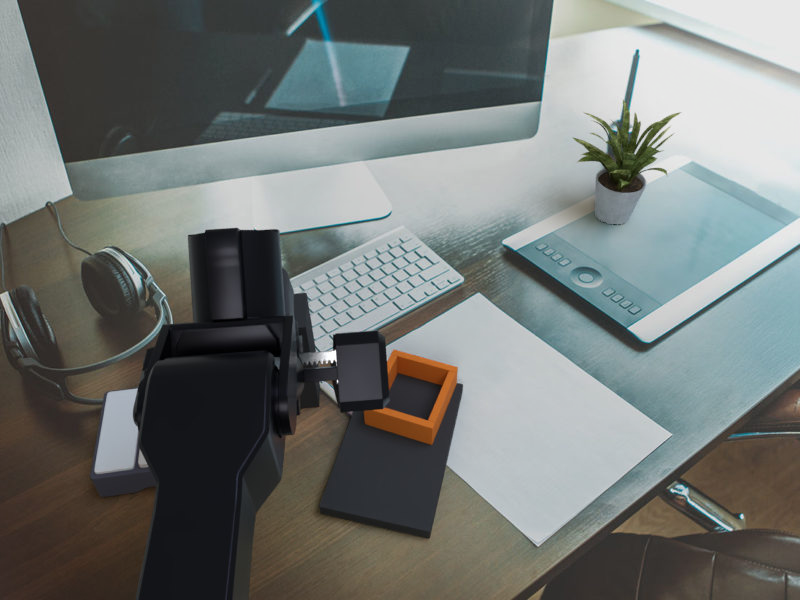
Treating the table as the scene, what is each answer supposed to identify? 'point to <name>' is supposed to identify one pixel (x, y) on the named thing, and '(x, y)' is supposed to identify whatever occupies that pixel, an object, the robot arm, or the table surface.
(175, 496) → the robot arm
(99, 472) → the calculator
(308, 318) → the dark gray block
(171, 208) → the table surface
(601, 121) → the house plant
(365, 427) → the base pad
